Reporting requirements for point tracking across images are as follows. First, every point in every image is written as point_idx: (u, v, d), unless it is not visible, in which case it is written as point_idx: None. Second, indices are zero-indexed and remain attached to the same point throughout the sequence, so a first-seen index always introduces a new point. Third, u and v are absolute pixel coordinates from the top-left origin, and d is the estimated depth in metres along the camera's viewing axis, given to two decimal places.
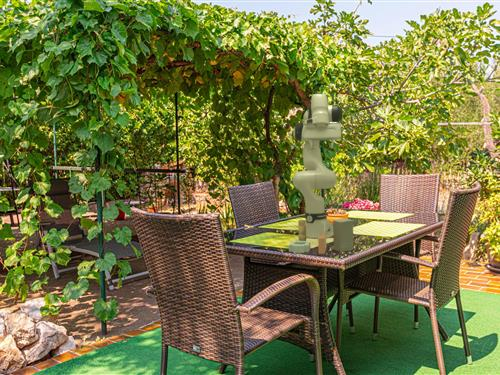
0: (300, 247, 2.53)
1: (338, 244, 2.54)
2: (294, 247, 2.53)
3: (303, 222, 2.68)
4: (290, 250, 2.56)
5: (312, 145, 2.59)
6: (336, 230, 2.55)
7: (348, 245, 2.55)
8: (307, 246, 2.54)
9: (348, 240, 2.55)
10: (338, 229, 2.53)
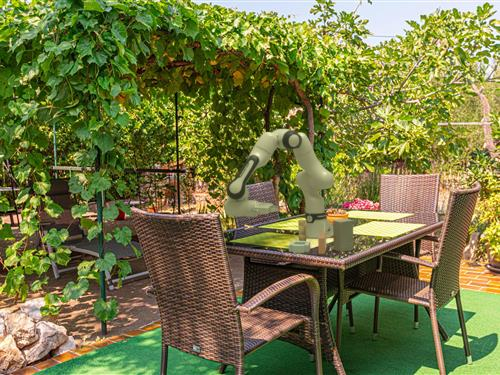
0: (300, 247, 2.53)
1: (338, 244, 2.54)
2: (294, 247, 2.53)
3: (303, 222, 2.68)
4: (290, 250, 2.56)
5: (278, 209, 2.76)
6: (336, 230, 2.55)
7: (348, 245, 2.55)
8: (307, 246, 2.54)
9: (348, 240, 2.55)
10: (338, 229, 2.53)
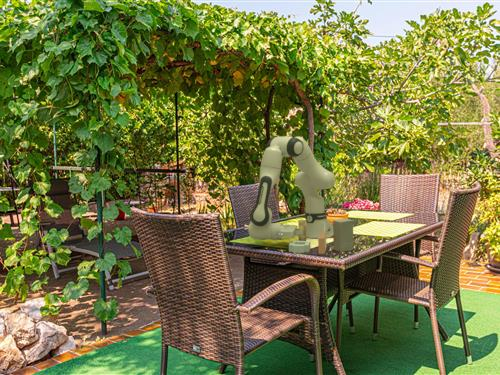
0: (300, 247, 2.53)
1: (338, 244, 2.54)
2: (294, 247, 2.53)
3: (303, 222, 2.68)
4: (290, 250, 2.56)
5: None
6: (336, 230, 2.55)
7: (348, 245, 2.55)
8: (307, 246, 2.54)
9: (348, 240, 2.55)
10: (338, 229, 2.53)
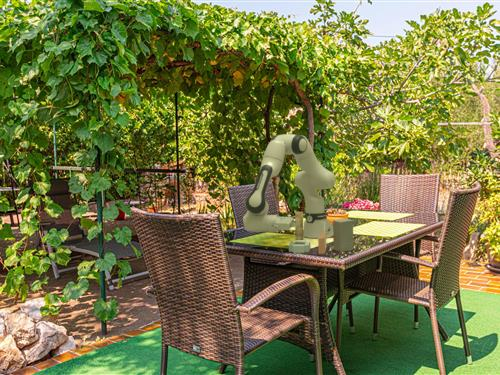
0: (300, 247, 2.53)
1: (338, 244, 2.54)
2: (294, 247, 2.53)
3: (300, 214, 2.57)
4: (290, 250, 2.56)
5: None
6: (336, 230, 2.55)
7: (348, 245, 2.55)
8: (307, 246, 2.54)
9: (348, 240, 2.55)
10: (338, 229, 2.53)
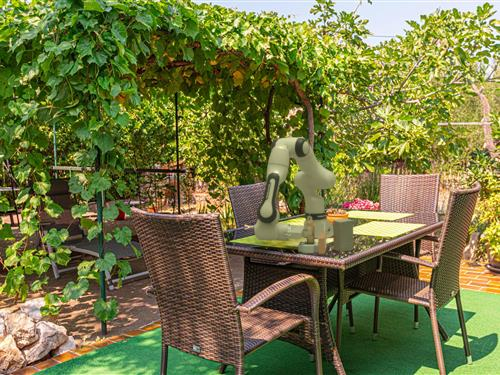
0: (310, 247, 2.52)
1: (338, 244, 2.54)
2: (304, 247, 2.52)
3: (312, 222, 2.56)
4: (300, 250, 2.55)
5: None
6: (336, 230, 2.55)
7: (348, 245, 2.55)
8: (317, 246, 2.53)
9: (348, 240, 2.55)
10: (338, 229, 2.53)
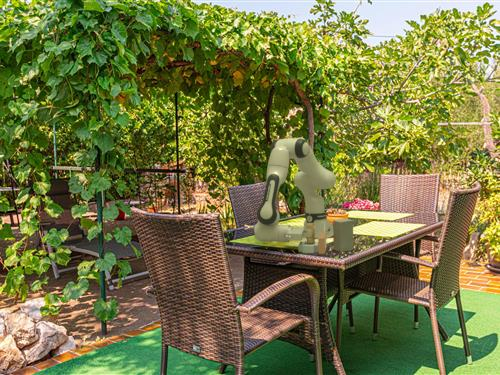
0: (310, 247, 2.52)
1: (338, 244, 2.54)
2: (304, 247, 2.52)
3: (312, 225, 2.56)
4: (300, 250, 2.55)
5: None
6: (336, 230, 2.55)
7: (348, 245, 2.55)
8: (317, 246, 2.53)
9: (348, 240, 2.55)
10: (338, 229, 2.53)
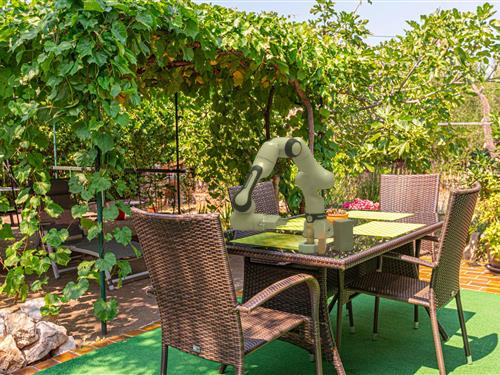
0: (310, 247, 2.52)
1: (338, 244, 2.54)
2: (304, 247, 2.52)
3: (311, 225, 2.56)
4: (300, 250, 2.55)
5: None
6: (336, 230, 2.55)
7: (348, 245, 2.55)
8: (317, 246, 2.53)
9: (348, 240, 2.55)
10: (338, 229, 2.53)
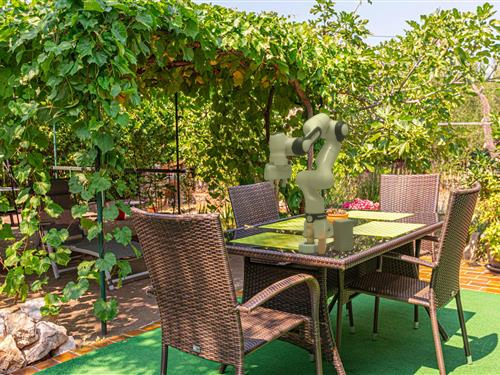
0: (310, 247, 2.52)
1: (338, 244, 2.54)
2: (304, 247, 2.52)
3: (311, 225, 2.56)
4: (300, 250, 2.55)
5: None
6: (336, 230, 2.55)
7: (348, 245, 2.55)
8: (317, 246, 2.53)
9: (348, 240, 2.55)
10: (338, 229, 2.53)
